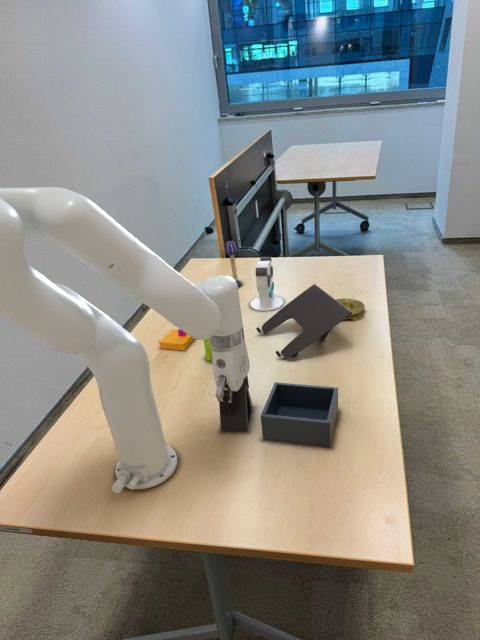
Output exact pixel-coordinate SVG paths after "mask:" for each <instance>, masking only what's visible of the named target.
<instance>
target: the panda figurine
mask: <svg viewBox="0 0 480 640" xmlns="http://www.w3.org/2000/svg"><path fill="white" fill-rule="evenodd" d="M273 277H274V268H273V265H272V256H260V260H259V261H258V262H257V264H256V267H255V285H256V290H257V292H258V297H255V298H254V299H252V300H251V301H250V304H249V306H250V308H251V309H252V310H255V311H260V312H270V311H274V310H277V309H279V308H282V306H283V305H284V299H283V298H282V297H280V296H276V295H274V289H275V283H274V281H273Z"/></svg>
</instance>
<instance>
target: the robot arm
mask: <svg viewBox="0 0 480 640" xmlns="http://www.w3.org/2000/svg"><path fill="white" fill-rule="evenodd" d="M46 240H50V241H52V242H54V244H56V245H57V246H59V248H62V249H63V250H64V251H65V252H67V253H68V254H70V255H71V256H73V257H74V258H75V259H76V260H78V261H79V262H81V263H82V264H83V265H85V266H87V267H88V268H89V269H91V270H92V271H93V272H95V273H96V274H97V275H99V276H100V277H102V278H103V279H105V280H106V281H108V282H109V283H110V284H111V285H112V286H115V287H116V288H118V289H119V290H120V291H122V292H123V293H125V294H126V295H128V296H129V297H130V298H133V299H135V300H136V301H138V302H140V303H142V304H144V305H145V306H146V307H149V308H150V309H151V310H153V311H154V312H156V313H157V314H159V315H160V316H162V317H164V319H165V320H166V321H167V322H169V323H171V325H173V326H175V327H176V328H178V329H181V330H182V331H184V332H185V333H186V334H188V335H189V336H191V337H192V338H195V339H194V340H203V339H207V338H208V341H209V346H210V347H211V348H212V359H213V362H212V369H213V377H214V382H215V385H216V390H215V397H216V400H217V402H218V403H219V402H220V406H219V408H220V407H221V413H222V415H227V416H235V415H236V409H235V402H234V400H232V399H233V391H238V390H239V389H240V387H241V386H242V384H243V381H244V378H247V386H248V390H250V389H249V388H250V384H249V376H248V374H249V371H250V368H251V365H250V359H249V354H248V349H247V348H248V347H247V343H246V339H245V332H244V324H243V323H244V322H243V315H242V308H241V301H240V300H241V299H240V293H239V292H240V291H239V287H238V286H237V283H236V281H235V280H234V279H233V277H231V276H229V275H215V276H214V275H213V276H211V277H208V278H205V279H204V280H203V281H199V282H195V283H192V282H191V281H190V280H189V279H187V278H186V277H184V276H183V275H182V274H181V273H179V272H178V271H177V270H175V269H174V268H173V267H172V266H171V265H169V264H168V263H167V262H166V261H165V260H163V259H162V257H160V256H159V255H157V253H155V252H154V251H152V250H151V249H150V248H149V247H148V246H146V244H144V243H143V242H141V241H140V240H139V239H138V238H136V237H135V236H134V234H132V233H130V232H129V231H128V230H127V229H125V227H124V226H122V225H121V224H120V223H118V222H117V221H116V220H115V219H114V218H113V217H112V216H110V215H109V214H108V213H107V212H105V211H104V210H103V209H102V208H100V206H98V205H97V204H96V203H95V202H93V201H92V200H91V199H89V198H88V197H87V196H84V195H83V194H80V193H78V192H75V191H73V190H70V189H68V188H64V187H60V186H59V187H58V186H46V187H45V186H42V187H41V186H38V187H36V186H35V187H0V316H1V317H3V318H4V319H6V320H8V321H9V322H10V323H12V324H13V325H14V326H16V327H18V328H20V329H21V330H23V331H24V332H26V333H28V334H29V335H31V336H33V337H34V338H36V339H38V341H40V342H42V343H43V344H45V345H46V346H47V347H49V348H50V349H53V350H55V351H57V352H61V353H66V354H74V355H76V356H77V357H79V358H80V360H81V361H82V362H83V363H84V364H85V366H86V367H87V368H88V369H89V370H90V372H91V373H92V375H93V377H94V378H95V381H96V384H97V387H98V393H99V399H100V403H101V406H102V410H103V413H104V416H105V418H106V421H107V426H108V428H109V431H110V434H111V438H112V441H113V443H114V447H115V450H116V453H117V457H118V459H119V460H117V463H116V465H115V469H114V470H115V477H116V480H115V482H114V483H113V484H112V486H111V491H112V492H113V493H115V494H121V492H122V491H123V489H124V488H127V489H129V490H146V489H150V488H153V487H156V486H158V485H160V484H162V483H163V482H165V481H167V480H168V479H169V478H170V477H171V476H172V475H173V474H174V472H175V470H176V468H177V466H178V455H177V453H176V451H175V450H174V448H173V447H171V446H170V445H168V444H167V443H166V439H165V433H164V431H163V427H162V422H161V419H160V414H159V410H158V407H157V403H156V399H155V395H154V391H153V386H152V381H151V380H152V379H151V366H150V360H149V359H150V358H149V355H148V352H147V350H146V349H145V347H144V346H143V345H142V343H141V342H140V341H139V340H138V339H137V338H136V337H135V336H134V335H133V334H132V333H130V331H128V330H126V329H125V328H124V327H122V326H121V324H119V323H118V322H117V321H116V320H115V319H113V318H111V317H110V316H109V315H107V314H106V313H104V312H103V311H102V310H100V309H99V308H98V307H96V306H95V305H94V304H92V303H91V302H89V301H88V300H86V299H85V298H84V297H82V296H81V295H80V294H78V293H77V292H76V291H75V290H73V289H71V288H70V287H68V286H67V285H65V284H62V283H56V282H53V281H52V280H50V279H48V278H47V277H46V276H45V275H44V274H43V273H41V272H39V271H38V270H37V269H35V268H34V267H33V266H31V265H30V264H29V263H28V261H27V259H26V256H25V253H24V252H25V251H24V250H25V249H24V247H25V243H27V242H39V241H46ZM226 384H228V386H229V387H230V388H227V387H225V385H226ZM224 390H226V391H229V397H227V396H224Z"/></svg>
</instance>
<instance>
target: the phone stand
mask: <svg viewBox="0 0 480 640" xmlns="http://www.w3.org/2000/svg"><path fill="white" fill-rule="evenodd" d="M225 387H227V388H230V387H229V386H228V384H226V385H225ZM224 396H227V397H229V391H226V390H224ZM232 400H234V402H235V409H236V415H235V416H227V415H222V413H221V407H220V402H219V401H218V404H219V405H218V406H219V420H220V421H219V422H220V423H219V424H220V432H228V433H229V432H234V433H241V432H242V433H248V432H249V427H250V422H251V418H252V413H253V408H254V405H253V402H252V397H251V394H250V389H248V386H247V378H244V381H243V384H242V386H241V387H240V389H239V390H238V391H233V399H232Z"/></svg>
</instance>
